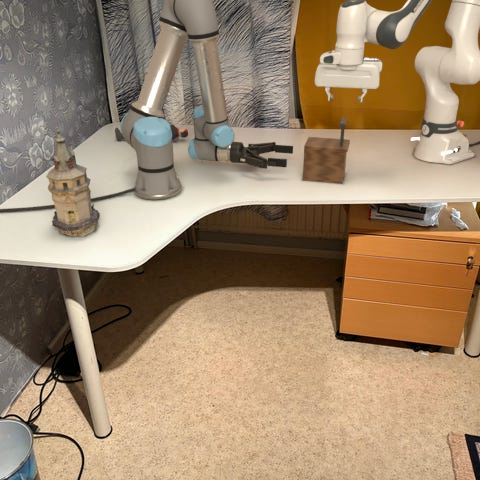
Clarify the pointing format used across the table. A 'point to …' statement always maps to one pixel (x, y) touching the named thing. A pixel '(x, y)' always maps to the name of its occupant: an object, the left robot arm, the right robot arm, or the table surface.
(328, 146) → the lid
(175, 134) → the toy
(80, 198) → the miniature building
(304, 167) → the chest
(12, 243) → the table surface
